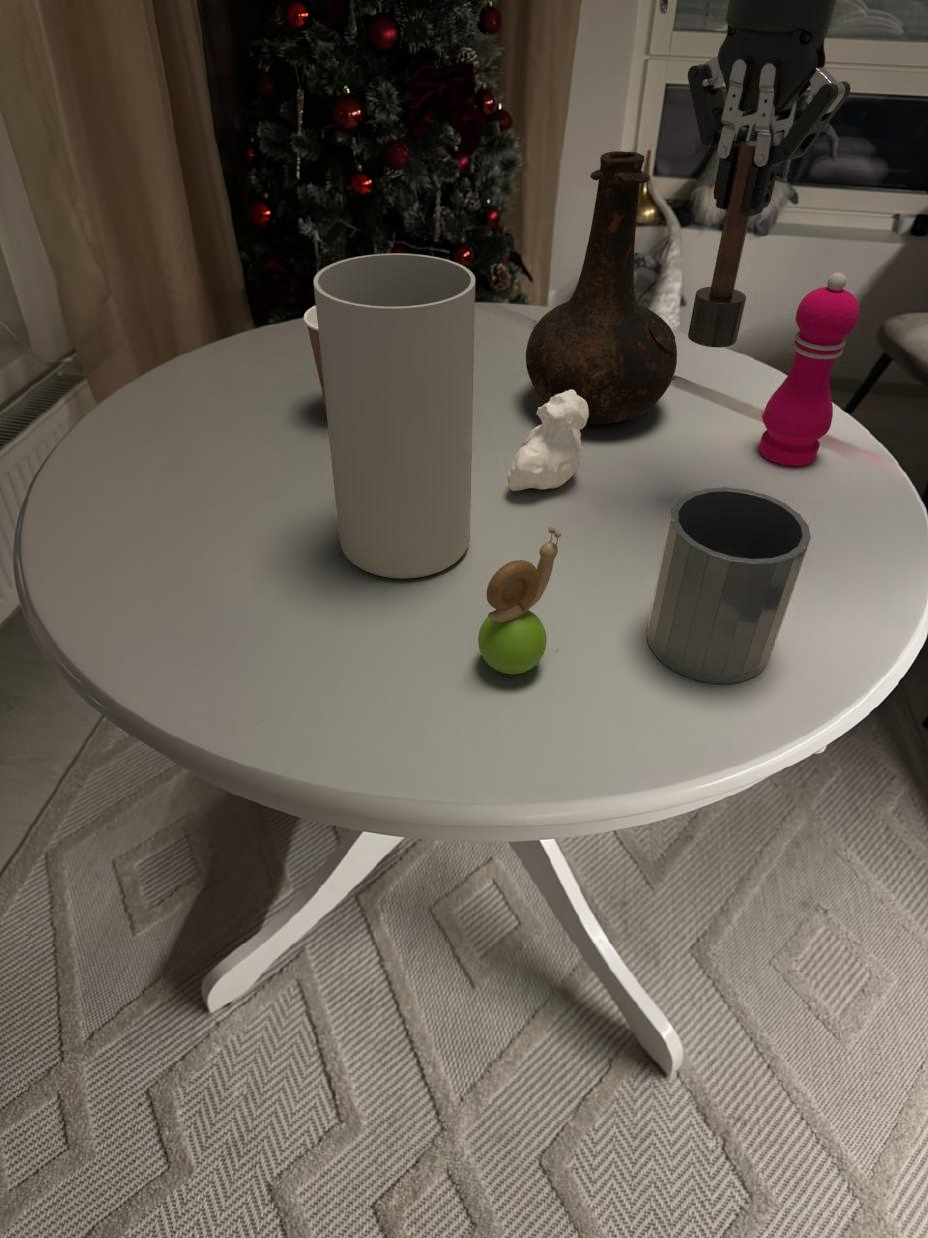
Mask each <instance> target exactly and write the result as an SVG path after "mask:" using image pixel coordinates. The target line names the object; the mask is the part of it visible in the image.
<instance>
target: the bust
mask: <svg viewBox="0 0 928 1238" xmlns="http://www.w3.org/2000/svg"><path fill="white" fill-rule="evenodd" d="M536 415H537V416H538V417H539V418H540V419H539V420H540V421H541V424H539V425H537V426H535V427H534V428H533V429H531V430H530V431H529V432H528V434H527V437H526V438H525V440H524V441H523V442H522V443H521V445H520V448H519V449H518V450H517V451H516V453H515V454H514V456H513V458H512V460H511V462H510V465H509V466H508V470H507V475H506V476H507V477H506V479H507V484H508V488H509V489H510V490H511V491H513V492H519V491H524V490H527V489H537V490H548V489H556V488H559V487H561V486H563V485H564V484H565V483H566V482H568V481H569V480H570V479H571V477H573V476H574V475H575V473H576V472H577V471H578V469H579V465H580V462H581V458H582V452H581V449H582V441H581V437H582V434H581V431H580V430H582V429H584V428H585V426H586V425H587V424H588V423H587V419H588V416H589V410H588V405H587V402H586V401H585V400H584V399H583V398H582V397H580V396H578V395H577V394H576V392H575V391H574V390H568V391H565V392H563V393H560V394H556V395H555V396H554V397H551V398H550V401H549V402H548V403H544V404H543V405H542V406H538V407H537V410H536Z"/></svg>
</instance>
